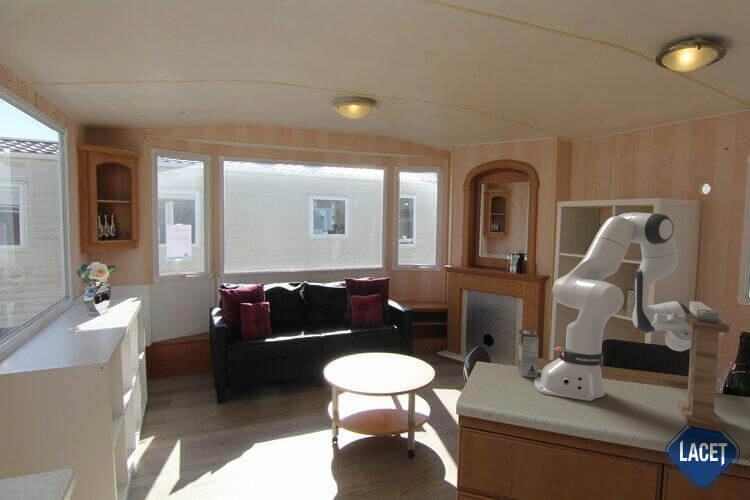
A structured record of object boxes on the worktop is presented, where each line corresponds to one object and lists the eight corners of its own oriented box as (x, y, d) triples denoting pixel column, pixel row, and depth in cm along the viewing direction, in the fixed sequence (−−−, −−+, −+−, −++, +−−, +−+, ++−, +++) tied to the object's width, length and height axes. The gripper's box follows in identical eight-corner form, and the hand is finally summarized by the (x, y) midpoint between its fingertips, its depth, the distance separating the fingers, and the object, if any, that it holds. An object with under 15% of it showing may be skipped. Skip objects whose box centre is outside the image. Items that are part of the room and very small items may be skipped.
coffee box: (517, 368, 171) (518, 328, 170) (534, 369, 169) (535, 329, 168) (520, 376, 162) (521, 334, 161) (538, 377, 160) (539, 335, 159)
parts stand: (722, 431, 120) (729, 325, 118) (687, 425, 123) (693, 322, 121) (710, 412, 132) (716, 316, 130) (679, 407, 136) (684, 313, 134)
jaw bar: (720, 324, 120) (721, 313, 120) (698, 322, 122) (699, 311, 122) (704, 311, 138) (705, 302, 138) (685, 309, 140) (686, 300, 140)
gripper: (650, 318, 159) (655, 304, 148) (719, 325, 149) (730, 311, 138) (650, 334, 156) (655, 321, 145) (720, 342, 147) (731, 329, 136)
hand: (692, 316), depth 142 cm, fingers open, 8 cm apart
